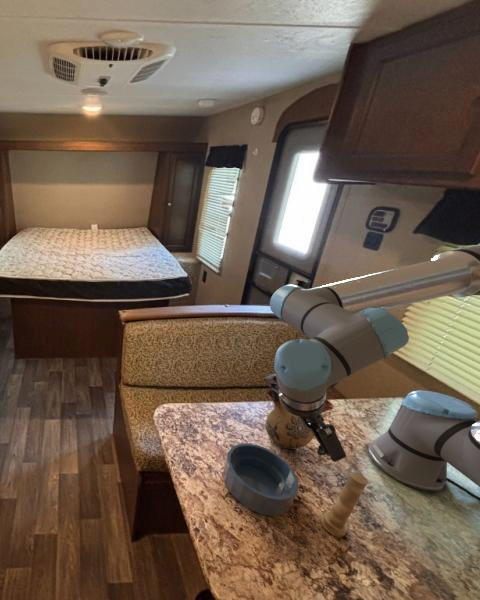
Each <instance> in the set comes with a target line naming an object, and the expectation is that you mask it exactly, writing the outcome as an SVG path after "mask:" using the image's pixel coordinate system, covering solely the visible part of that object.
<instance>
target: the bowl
mask: <svg viewBox="0 0 480 600" xmlns="http://www.w3.org/2000/svg"><path fill="white" fill-rule="evenodd" d="M223 464H224V465H223V468H222V469H223V470H222V478H223V481H224V482H223V483H224V485H225V486H226V488H227V489H228V491H229V493H230V494H231V495H232V496H233V497H234V498H235V499H236V500H237V502H239V503H240V504H241V505H243V506H245V507H246V508H247V509H248V510H251V511H253V512H255V513H257V514H260V515H265V516H268V517H269V516H270V517H278V516H283V515H284V514H286V513H288V512H289V511H290V509H291V507H292V505H293V503H294V500H295V498H296V495H297V493H298V491H299V490H300V489H299V488H300V487H299V478H298V477H297V474H296V472H295V470H294V468H292V467H291V465H290V464H289V463H288V462H287V461H286V459H284V458H283V457H281V456H280V455H279V454H278V453H276V452H274V451H272V450H271V449H269V448H267V447H264V446H261V445H258V444H254V443H248V442H245V443H244V442H243V443H238V444H235V445H233V446H232V447H230V449H229V450H228V451H227V454H226V457H225V461H224V463H223Z"/></svg>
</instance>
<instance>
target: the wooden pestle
mask: <svg viewBox="0 0 480 600" xmlns="http://www.w3.org/2000/svg"><path fill="white" fill-rule="evenodd" d="M367 485H368V479H367V478H366V477H365V476H364V475H363V474H361V473H359V472H355V471H352V472H350V474H349V476H348V477H347V480H346V482H345V483H344V485H343V487H342V489H341V491H340V493H339V495H338V497H337V499H336V501H335V503H334V505H333V507H332V509H331V510H330V511H325V512H324V514H323V516H322V518H321V520H320V521H321V525H322V526H323V528H324V529H325V530H326V531H327V532H328V533H329V534H331V535H332V536H334V537H336V538H343V537H345V535H346V534H347V533H348V531H349V525H348V522H347V521H348V520H349V517H350V515H351V514H352V512H353V510H354V508H355V506H356V505H357V503H358V501H359V499H360V497H361V496H362V494H363V493H364V490H365V488H366V486H367Z"/></svg>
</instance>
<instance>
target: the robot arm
mask: <svg viewBox="0 0 480 600" xmlns="http://www.w3.org/2000/svg"><path fill="white" fill-rule="evenodd" d="M446 296H448V297H452V298H467V297H470V296H480V244H477V245H471V246H466V247H465V246H464V247H461V248H456V249H451V250H448V251H444V252H443V251H442V252H441V253H439V254H436V255H435V256H434V257H433V258H431V259H430V260H427V261H423V262H418V263H414V264H411V265H406V266H400V267H397V268H392V269H388V270H384V271H380V272H376V273H372V274H368V275H367V274H366V275H364V276H360V277H355V278H350V279H346V280H341V281H338V282H334V283H329V284H326V285H322V286H316V287H312V288H304V287H303V286H299V285H295V284H286V285H283V286H281V287H279V288H278V289H277V290H275V291H274V293H273V294H272V296H271V298H270V299H269V300H270V301H269V307H270V311H271V312H272V313H273V315H275V316H276V317H277V318H279V320H281V321H282V322H283V323H285V324H287V325H289V326H290V327H292V328H293V329H294V330H296V331H298V332H300V333H301V334H302V335H304V336H306V337H307V338H308V339H306V338H301V339H291V340H287V341H286V342H284V343H283V344H281V345H280V346H279V347H278V349H277V350H276V353H275V356H274V360H273V370H274V373H270V374H269V375H267V376H264V377H263V381H264V382H265V383H266V384H269V385H268V387H269V390H272V394H273V400H274V401H275V402H278V401H279V400H280V403H281V404H282V406H283V407H284V408H285V409H286V410H287V411H288V412H290V413H291V414H293V415H296V416H299V417H300V418H301V420H302V421H303V423H304V424H305V425H306V426H307V427H308V428H310V429H311V431H312V433H313V434H314V438H315V440H316V441H317V443H318V444H319V445H318V447H317V454H318V456H319V457H321V456H327V457H330V460H331V461H332V462H334V463H336V462H339V461H340V460H343V459H344V458H347V457H348V456H347V454H346V452H345V450H344V447H343V445H342V443H341V442H340V440H339V437H338V435H337V432H336V431H337V430H336V428H335V426H334V425H333V424H332V423H325V418H324V417H323V416H322V413H321V411H322V410H323V408H324V405H325V399H326V400H327V391H328V388H330V387H331V386H333V385H335V384H336V383H339V382H341V381H343V380H344V379H346V378H347V377H350V376H352V375H354V374H356V373H357V372H360V371H361V370H363V369H365V368H368V367H370V366H371V365H374V364H375V363H377V362H380V361H382V360H385V359H386V358H388V357H389V356H391V355H392V354H394V353H395V352H397V351H399V350H400V349H402V348H404V347H405V346H406V345H407V344H409V343H408V342H409V341H410V336H409V334H408V332H409V331H408V329H407V327H406V326H405V324H404V323H403V322H402V321H401V320H400V319H399V318H398V317H397V316H395V314H393V313H391V312H389V310H392V309H396V308H398V307H405V306H409V305H412V304H416V303H422V302H426V301H429V300H435V299H438V298H443V297H446ZM320 413H321V414H320ZM478 414H479V413H478V411H477V410H476V408H475V407H474V406H472V405H470V404H469V403H467V402H465V401H463V400H461V399H458V398H457V397H454V396H450V395H447V394H444V393H440V392H436V391H430V390H413V391H410V392H408V394H407V395H406V396H405V398H404V399H403V400H402V401H401V403H400V406H399V409H398V410H397V412H396V414H395V416H394V418H393V420H392V422H391V424H390V426H389V428H388V429H387V430H386V431H384V432H383V433H382V434H380V435H379V436H378V437H376V438H375V439H373V440H372V441H371V442H370V443H369V446H368V448H367V453H368V455H369V458H370V459H371V461H372V462H373V463H374V464H375V465H376V466H377V468H379V469H380V470H381V471H382V472H384V473H385V474H387V475H388V476H390V477H391V478H393V479H395V480H397V481H398V482H400V483H402V484H404V485H406V486H409V487H412V488H415V489H417V490H421V491H425V492H439V491H441V490H442V489H443V488H444V487H445V485H446V482H448V483H450V484H452V485H453V486H454V487H456V488H458V489H460V490H461V491H463V492H464V493H465V494H467V495H469V496H470V497H472V498H474V499H476V500H477V501H479V502H480V497H479V495H476V494H474V493H472V492H471V491H470V490H468V489H467V488H465V487H464V486H462V485H460V484H459V483H457V482H455V481H454V480H452V479H450V478H449V477H448V464H449V465H450V466H452V468H454V469H455V470H457V471H458V472H459V473H460V474H462V475H463V476H464V477H466V478H467V479H468V480H470V481H471V482H472V483H473V484H475V485H476V486H478V487H479V488H480V421H478V420H477V419H478V417H479V416H478ZM306 419H307V420H308V421H307V420H306Z"/></svg>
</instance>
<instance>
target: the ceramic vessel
mask: <svg viewBox="0 0 480 600" xmlns="http://www.w3.org/2000/svg"><path fill="white" fill-rule="evenodd" d="M266 395H267V397H268V398H269V399H270V400H271V402H272V403H273V406H274V407H273V409H272V410H271V411H270V412H269V414H268V415H267V417H266V419H265V430H266V434H267V435H268V437H269V438H270V440H271V441H272V442H273V443H274V444H276V445H277V446H279V447H281V448H284V449H289V450H293V449H294V450H296V449H300V448H303V447H305V446H307V445H308V444H310V443H311V442H312V441H313V439H314V438H315V436H314V434H313V433H312V431H311V429H310V428H308V427H307V426H306V425H305V424H304V423H303V421H302V420H301V418H300V417H299V416H296V415H293V414H291V413H290V412H288V411H287V410H286V409H285V408H284V407H283V406H282V404H281V403H280V400H279V401H278V402H275V401H274V400H273V394H272V389H269V390H268V391H267V392H266ZM334 409H335V405H333V403H332V402H330V401H329V400H328V399H327V398H326V399H325V405H324V408H323V410H322V411H321V413H320V414H321V415H322V414H323V413H325V412H329V411H331V410H334ZM306 420H307V419H306ZM307 421H308V420H307Z"/></svg>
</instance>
